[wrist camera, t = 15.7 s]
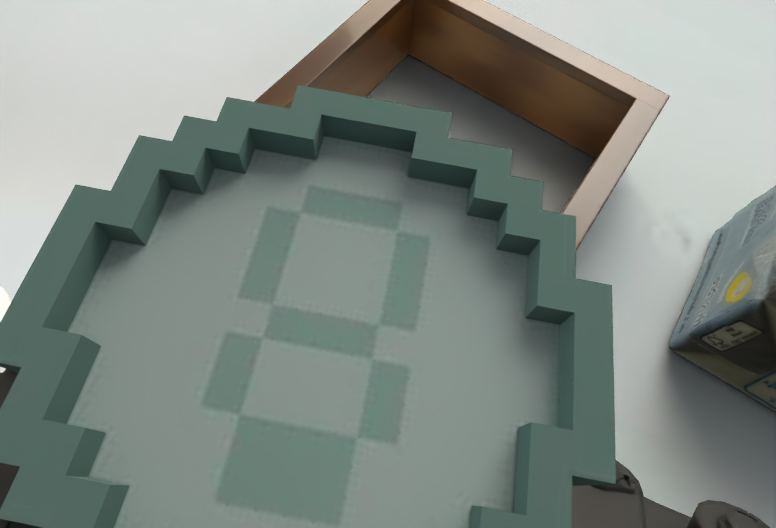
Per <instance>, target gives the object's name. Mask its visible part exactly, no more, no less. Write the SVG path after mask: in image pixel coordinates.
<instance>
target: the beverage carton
mask: <svg viewBox="0 0 776 528" xmlns="http://www.w3.org/2000/svg"><path fill="white" fill-rule="evenodd" d="M669 348H670V349H671V350H672V351H674V352H676V353H678V354H679V355H681V356H683V357H684V358H686V359H688V360H689V361H691V362H693V363H694V364H696V365H698V366H699V367H701V368H703V369H704V370H706V371H708V372H710V373H711V374H713V375H715V376H717V377H718V378H720V379H722V380H723V381H725V382H727V383H729V384H730V385H732V386H734V387H735V388H737V389H739V390H740V391H742V392H744V393H745V394H747V395H749V396H750V397H752V398H753V399H755V400H757V401H758V402H760V403H762V404H763V405H765V406H767V407H768V408H770V409H771V410H773V411H775V412H776V186H774V187H773V188H772V189H770V190H769V191H768V192H766V193H765V194H763V195H761V196H760V197H758V198H756V199H755V200H753V201H752V202H751V203H750V204H748V205H747V206H746V207H745V208H743V209H742V210H740V211H739V212H737V213H736V214H735V215H734V217H733V218H732V219H731V220H730V221H729V222H728V223H726V224H725V225H724V226H723V227H721V228H720V229H718V230H717V231H716V232H715V233H714V235H713V236H712V240H711V243H710V246H709V249H708V251H707V254H706V256H705V259H704V262H703V264H702V267H701V269H700V272H699V274H698V277H697V279H696V281H695V284H694V286H693V289H692V291H691V293H690V296H689V298H688V300H687V302H686V304H685V306H684V309H683V311H682V314H681V316H680V318H679V320H678V322H677V324H676V327H675V329H674V331H673V334H672V337H671V340H670V343H669Z"/></svg>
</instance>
